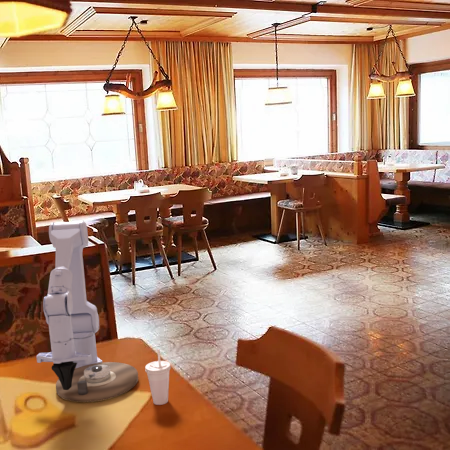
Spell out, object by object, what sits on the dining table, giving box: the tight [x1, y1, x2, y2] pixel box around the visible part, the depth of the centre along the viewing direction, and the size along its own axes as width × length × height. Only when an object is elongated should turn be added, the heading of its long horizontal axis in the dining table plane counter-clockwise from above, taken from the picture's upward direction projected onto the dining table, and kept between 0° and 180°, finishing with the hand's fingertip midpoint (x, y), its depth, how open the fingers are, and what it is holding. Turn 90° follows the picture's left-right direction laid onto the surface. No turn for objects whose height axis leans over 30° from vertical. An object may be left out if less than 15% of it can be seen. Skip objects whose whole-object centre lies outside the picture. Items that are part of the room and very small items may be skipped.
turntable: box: [55, 361, 139, 403], centre depth 161 cm, size 22×22×4 cm
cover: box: [84, 365, 111, 384], centre depth 161 cm, size 7×7×3 cm
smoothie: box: [144, 348, 171, 406], centre depth 149 cm, size 6×6×14 cm
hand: (67, 388), depth 154 cm, fingers closed
